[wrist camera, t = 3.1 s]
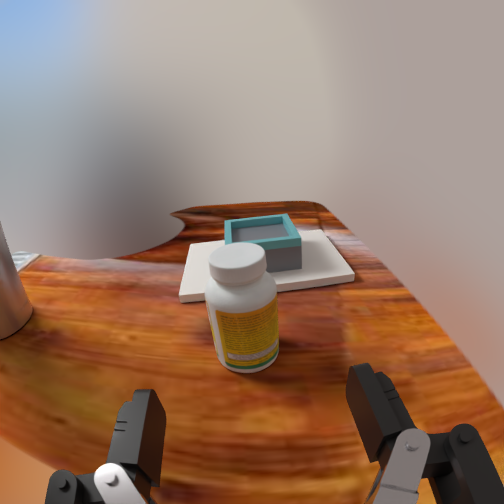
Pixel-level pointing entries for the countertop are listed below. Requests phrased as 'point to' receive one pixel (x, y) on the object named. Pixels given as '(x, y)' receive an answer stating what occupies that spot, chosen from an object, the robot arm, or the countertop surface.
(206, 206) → the countertop surface
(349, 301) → the countertop surface
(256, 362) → the supplement bottle
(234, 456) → the countertop surface
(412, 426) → the robot arm
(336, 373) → the countertop surface
